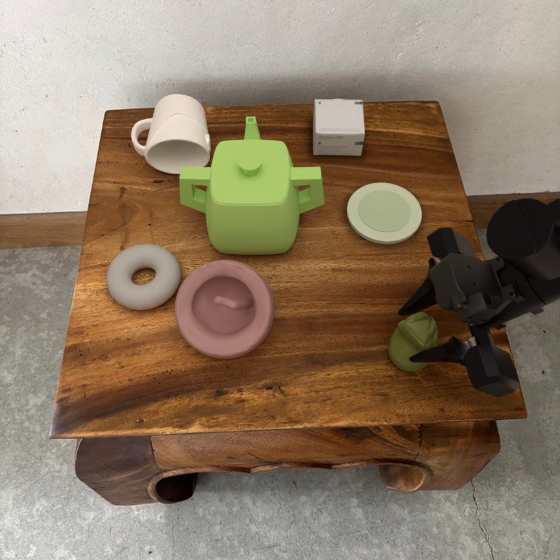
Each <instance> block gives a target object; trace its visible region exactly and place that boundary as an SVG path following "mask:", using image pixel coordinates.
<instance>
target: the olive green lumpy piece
mask: <svg viewBox="0 0 560 560" xmlns="http://www.w3.org/2000/svg"><path fill="white" fill-rule="evenodd" d="M438 338H439V327H438V324H437V322H436V320H435V319H434V318H433V316H432V315H428V314H427V313H426V312H423V311H419V312H417V313H414V314H410V315H408V316H406V318H405V319H403V320H400V321H399V322H398V323H397V325H396V328H395V329H394V331H393V333H391V336H390V339H389V341H388V345H387V354H388V357H389V359H390V360H391V362H392V364H393V365H394V366H396V367H397V368H398V369H400V370H401V371H404V372H410V373H413V372H418V371H421V370H422V369H424V368H426V367H427V366H428V365H429V364H430V363H414V362H411V361H410V360H409V357H411V356H413V355H415V354H417V353H419V352H422V351H424V350H427V349H430V348H433V347H436V346H438Z"/></svg>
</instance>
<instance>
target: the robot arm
mask: <svg viewBox="0 0 560 560" xmlns="http://www.w3.org/2000/svg"><path fill="white" fill-rule="evenodd" d="M485 238H486V244H487V246H488V247H489V249H490V250H491V252H492V253H494V254H495V257H494V258H491V259H485V260H482V259H480V258H479V257H477V256H476V253H475V250H474V247H473V244H472V242H471V240H470V239H468V238H467V237H465V236H464V235H463V234H461V233H460V232H458V230H456V229H454V228H453V227H449V226H443V227H438V228H437V229H435V230H433V231H431V232H429V233H428V234H427V235H426V239H427V243H428V246H429V250H430V253H431V255H432V256H433V257H429V258H428V261H427V265H428V270H427V275H426V278H425V280H424V281H423V282H422V284H421V285H420V286H419V287H418V288H417V290H416V291H415V292H414V293H413V294H412V295H411V296H410V297H409V298H408V300H406V301H405V303H404V304H403V305H402V306H401V307H400V309H398V311H397V314H398V316H400V317H408V316H411V315H413V314H416V313H418V312H422V311H423V310H426V309H428V308H431V307H433V306H435V305H437V306H439V307H440V308H441V309H443V310H445V311H450V312H451V311H453V312H454V313H457V315H458V319H459V321H460V323H461V324H466V325H467V326H468V329H469V332H470V335H471V337H470V338H467V339H465V340H463V339H461V338H459V337H457V336H454V335H452V336H450V337H449V339H448V340H447V341H446V342H444V343H441V344H439V345H437V346H436V347H433V348H430V349H427V350H424V351H422V352H419V353H417V354H415V355H413V356H411V357H409V360H410V361H411V362H414V363H429V364H430V363H431V364H433V363H434V364H435V363H436V364H437V363H439V364H445V363H446V364H459V365H460V366H463V367H464V368H465V369H466V372H467V375H468V376H467V377H468V379H469V382H470V384H471V386H472V387H473V388H474V390H476V391H479V392H482V393H484V394H487V395H489V396H493V397H496V398H501V397H505V396H508V395H510V394H513V393H514V392H516V390H517V389H518V387H519V386H520V385H521V381H520V379H519V375H518V373H517V370H516V367H515V364H514V361H513V358H512V355H511V353H510V352H509V351H507V350H505V349H503V348H501V347H499V346H496V344H495V341H494V338H493V335H492V332H491V329H495V330H497V331H500V330H502V329H505V328H507V327H508V326H507V322H509V321H512V320H514V319H517V318H519V317H521V316H524V315H526V314H527V315H528V314H529V313H531V314H533V315H534V316H537V315H539V314H541V313H544V312H545V310H544V307H545V306H549V305H551V304H553V303H555V302H558V301H560V198H556V199H554V200H552V201H550V202H548V203H545V202H543V201H541V200H540V199H536V198H531V197H530V198H529V197H527V198H525V197H523V198H518V199H511V200H509V201H508V202H505V203H504V204H502V205H501V206H500V207H499V208H498V209H497V210H496V211H495V212H494V213H493V215H492V216H491V217H490V219H489V221H488V224H487V227H486V233H485Z"/></svg>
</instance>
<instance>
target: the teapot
mask: <svg viewBox="0 0 560 560" xmlns="http://www.w3.org/2000/svg"><path fill="white" fill-rule="evenodd" d="M260 133H261V132H260V130H259V125H258V122H257V117H256V116H245V130H244V137H243V139H231V140H230V139H229V140H222V141H220V142H219V143H218V144H217V145H216V147H215V150H214V152H213V156H212V160H211V164H210V166H205V167H181V172H180V174H179V180H178V181H179V182H178V183H179V204H180V205H182V206H185V207H187V208H190V209H193V210H196V211H199V212H201V213H203V214H205V222H206V229H207V235H208V239H209V241H210V243H211V245H212V247H214V249H215V250H216V251H218V252H219V253H222V254H226V255H242V256H244V255H245V256H246V255H247V256H262V255H263V256H265V255H278V254H279V255H280V254H285V253H286V252H287V251H289V250H290V249H291V247H292V246H293V244H294V242H295V240H296V236H297V233H298V228H299V223H300V216H301V214H303V213H305V212H309V211H311V210H313V209H315V208H318V207H321V206H323V205H325V193H324V185H323V177H322V169H321V166H297V167H296V166H295V167H294V163H293V161H292V157H291V154H290V152H289V149H288V147H287V145H286V143H285V142H284V141H281V140H276V139H262V137H261V134H260ZM196 186H205V187H206V189H205V190H202V189H200V188H198V187H196ZM300 186H309V187H308V188H306V189H303V190H300V191H299V187H300Z"/></svg>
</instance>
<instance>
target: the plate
mask: <svg viewBox="0 0 560 560" xmlns="http://www.w3.org/2000/svg"><path fill="white" fill-rule="evenodd" d="M346 218H347V222H348V223H349V225H350V227H351V229H352V230H353V231H354V232H355V233H356V234H357V235H359V236H360V237H361V238H362V239H365V240H367V241H368V242H372V243H375V244H378V245H394V244H395V245H396V244H399V243H402V242H405V241H407V240H409V239H410V238H412V237H413V236H414V235H415V234H416V232H417V231H418V229H419V228H420V225H421V222H422V218H423V211H422V208H421V205H420V203H419V201H418V199H417V198H416V197H415V196H414V195H413V194H412V193H411V192H410V191H409V190H407V189H406V188H404V187H402V186H400V185H397V184H395V183H389V182H372V183H368V184H364V185H363V186H361V187H359V188H358V189H357V190H356V191H354V192H353V193H352V194H351V196H350V198H349V199H348V201H347V205H346Z"/></svg>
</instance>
